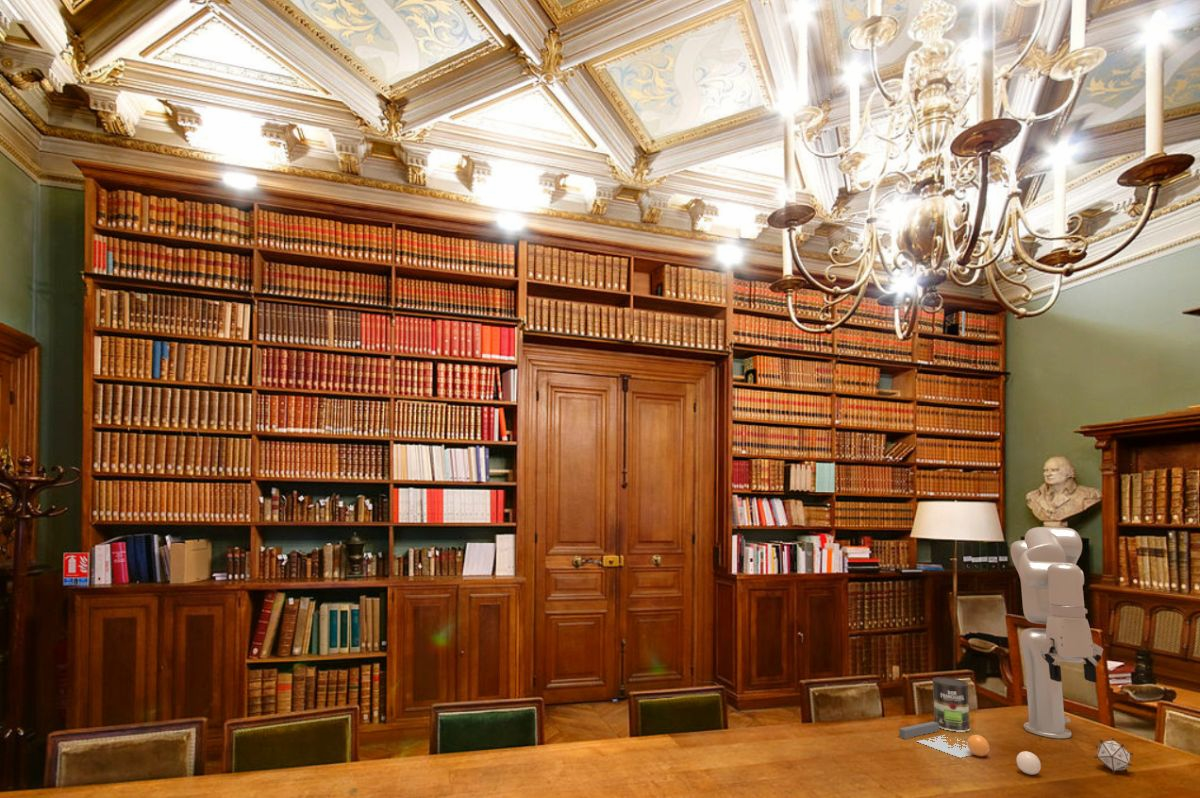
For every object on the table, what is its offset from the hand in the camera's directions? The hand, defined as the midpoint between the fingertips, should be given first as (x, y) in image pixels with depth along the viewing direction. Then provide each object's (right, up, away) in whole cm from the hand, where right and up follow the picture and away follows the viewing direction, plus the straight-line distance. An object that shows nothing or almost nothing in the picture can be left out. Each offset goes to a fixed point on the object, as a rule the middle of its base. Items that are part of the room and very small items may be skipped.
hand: (1073, 680), depth 174 cm
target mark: (-19, -30, +24) cm, 43 cm away
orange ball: (-15, -26, +18) cm, 35 cm away
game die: (+17, -28, +8) cm, 34 cm away
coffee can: (-10, -33, +41) cm, 53 cm away
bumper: (-24, -31, +34) cm, 52 cm away
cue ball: (-8, -24, +5) cm, 26 cm away
